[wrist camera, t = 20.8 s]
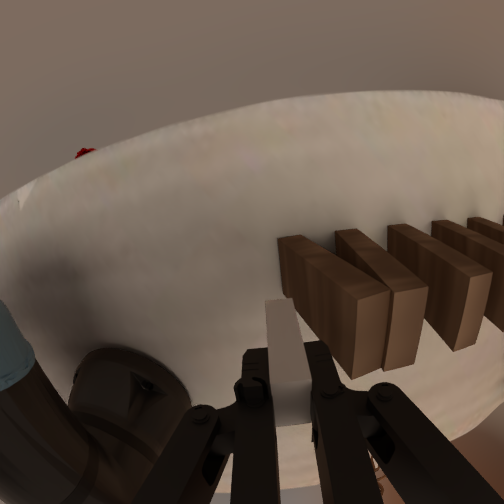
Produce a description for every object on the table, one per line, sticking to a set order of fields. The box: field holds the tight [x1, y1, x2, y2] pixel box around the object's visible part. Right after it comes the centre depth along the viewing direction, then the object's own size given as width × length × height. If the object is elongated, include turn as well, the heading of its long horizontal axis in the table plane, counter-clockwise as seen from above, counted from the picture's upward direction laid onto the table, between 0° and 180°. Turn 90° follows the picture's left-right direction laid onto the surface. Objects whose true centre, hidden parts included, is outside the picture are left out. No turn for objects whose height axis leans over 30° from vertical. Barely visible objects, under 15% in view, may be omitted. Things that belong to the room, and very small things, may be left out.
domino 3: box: [387, 224, 493, 352], centre depth 18 cm, size 2×5×12 cm, turn 7°
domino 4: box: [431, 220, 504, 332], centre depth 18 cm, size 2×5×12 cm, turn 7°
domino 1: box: [278, 235, 391, 380], centre depth 19 cm, size 2×5×12 cm, turn 7°
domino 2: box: [335, 229, 429, 372], centre depth 18 cm, size 2×5×12 cm, turn 8°
